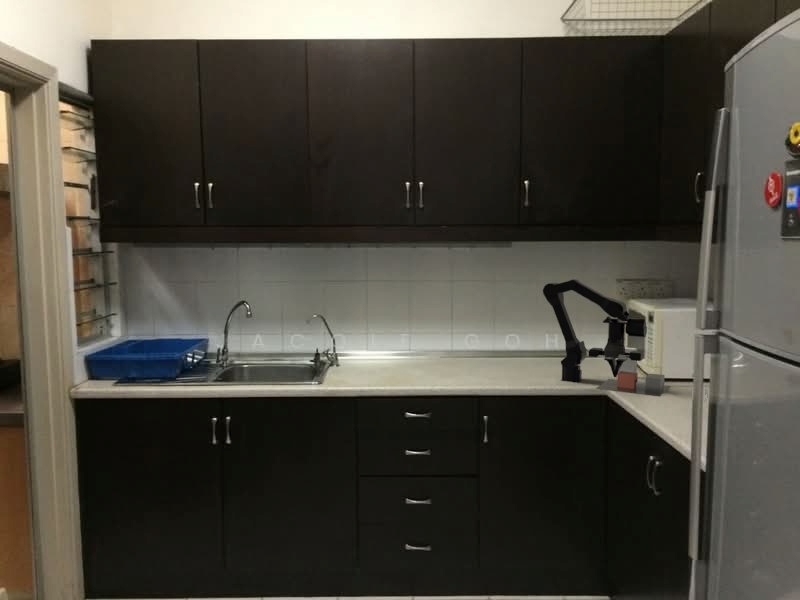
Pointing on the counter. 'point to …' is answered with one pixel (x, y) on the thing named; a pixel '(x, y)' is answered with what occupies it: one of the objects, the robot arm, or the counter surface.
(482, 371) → the counter surface
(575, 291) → the robot arm
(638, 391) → the coupler
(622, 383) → the block
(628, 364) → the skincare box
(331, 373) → the counter surface
